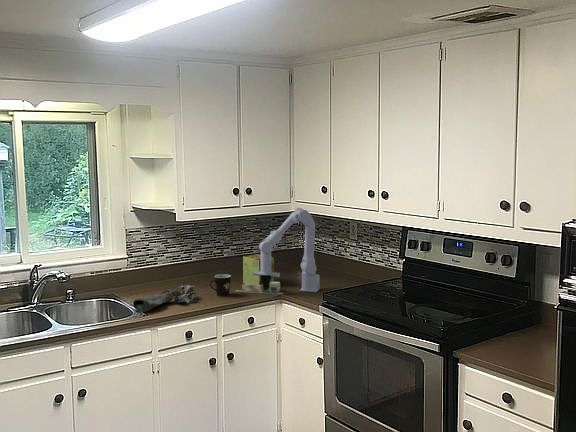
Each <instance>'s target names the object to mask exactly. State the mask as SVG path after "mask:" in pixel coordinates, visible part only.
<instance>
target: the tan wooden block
mask: <svg viewBox="0 0 576 432" xmlns="http://www.w3.org/2000/svg"><path fill="white" fill-rule="evenodd" d="M241 290H242V291H252V292H261V293H260V294H264V293H263V292H266V290H264V286H263V284H262V285H251V284H245V283H242V284H241Z"/></svg>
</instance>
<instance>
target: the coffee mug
mask: <svg viewBox="0 0 576 432" xmlns="http://www.w3.org/2000/svg"><path fill="white" fill-rule="evenodd" d="M231 280H232V275H231V274H225V273H224V274H223V273H222V274H215V275H214V279H212V280H211V281H210V283H209V286H210V288H212V289H213V290H214V291H216V292H215V294H216V296H217V297H228V296H230V291H231V290H230V289H231ZM213 282H214V284H215V285H214V286H215V287H213V285H212V284H213Z"/></svg>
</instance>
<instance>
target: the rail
mask: <svg viewBox="0 0 576 432" xmlns="http://www.w3.org/2000/svg"><path fill="white" fill-rule="evenodd" d="M234 292H238V293H250V294H251V293H252V294H253V293H255V294H265V295H266V294H267V295H284V292H270V291H265V292H263V293H261V292H252V291H242V289H235V291H234Z"/></svg>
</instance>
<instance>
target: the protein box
mask: <svg viewBox="0 0 576 432" xmlns="http://www.w3.org/2000/svg"><path fill="white" fill-rule="evenodd" d="M260 255H261V254H250V255H243V257H242V263H243V264H242V267H243V268H242V270H243V271H242V274H243V278H242V281H243V282H242V284H251V285H262V284H263V283H262V281H261V279H260V277H261V276H257V275H254V276H252V272H253V271H261V264H260ZM271 272H275V257H273V256H271ZM271 282H275V277H273V276H272V278H271V280H270V282H269V285H268V287H270V283H271Z"/></svg>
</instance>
